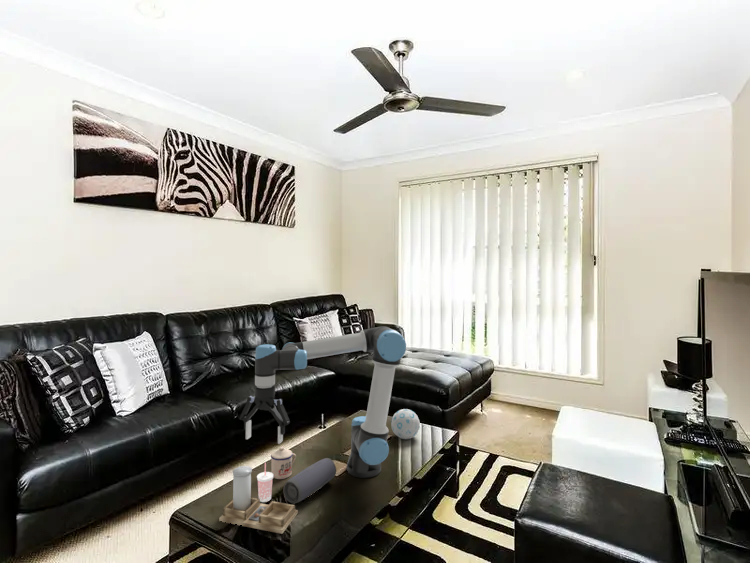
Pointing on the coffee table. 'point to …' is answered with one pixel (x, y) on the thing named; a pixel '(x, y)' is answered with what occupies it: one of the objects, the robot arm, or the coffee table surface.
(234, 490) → the grey tube
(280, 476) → the teacup with lid
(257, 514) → the rack
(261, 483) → the beverage cup
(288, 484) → the bluetooth speaker
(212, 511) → the coffee table surface
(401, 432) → the puzzle ball
